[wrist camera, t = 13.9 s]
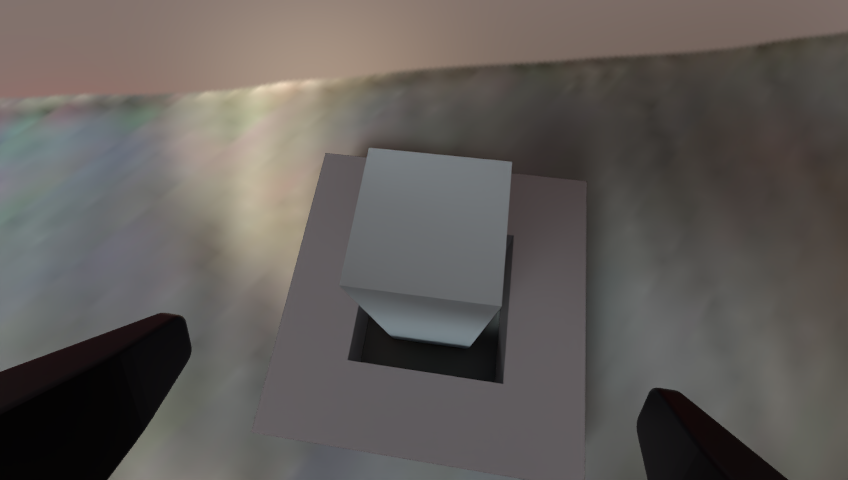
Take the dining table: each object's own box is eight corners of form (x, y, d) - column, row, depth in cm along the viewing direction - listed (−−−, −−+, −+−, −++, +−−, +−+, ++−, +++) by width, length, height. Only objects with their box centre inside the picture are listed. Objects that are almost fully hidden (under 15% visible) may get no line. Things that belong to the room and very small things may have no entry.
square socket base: (562, 473, 19) (584, 489, 16) (277, 425, 20) (251, 432, 17) (568, 205, 23) (586, 181, 20) (338, 179, 24) (325, 152, 22)
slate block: (467, 348, 21) (501, 306, 9) (393, 338, 21) (339, 285, 10) (475, 275, 22) (512, 161, 11) (404, 267, 22) (369, 147, 11)
